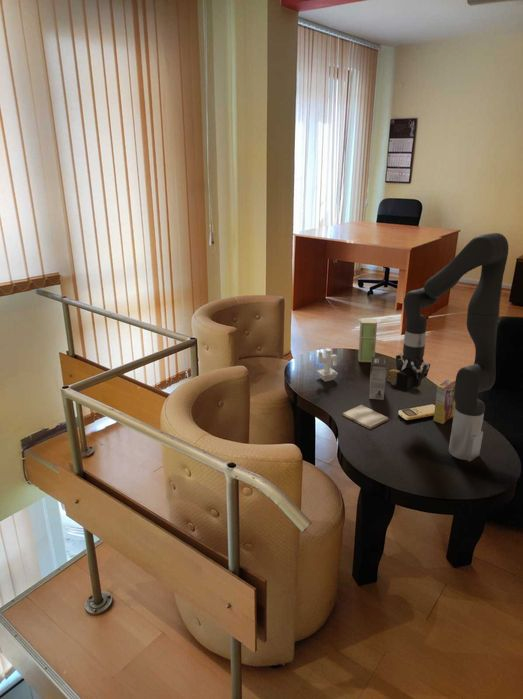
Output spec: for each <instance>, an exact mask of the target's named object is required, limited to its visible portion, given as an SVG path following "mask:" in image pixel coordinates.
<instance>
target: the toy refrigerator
mask: <svg viewBox="0 0 523 699" xmlns="http://www.w3.org/2000/svg"><path fill="white" fill-rule="evenodd" d="M377 326H378V320H377V318H366V317H365V318H364V317H361V318H360V321H359V338H358V339H359V340H358V356H357V357H358V362H359V363H371V361H372V357H376V345H377V330H378V327H377Z"/></svg>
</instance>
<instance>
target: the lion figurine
mask: <svg viewBox="0 0 523 699" xmlns="http://www.w3.org/2000/svg"><path fill="white" fill-rule="evenodd" d="M397 372H399V371H398V370H397V369H390V370H388V371H387V372H386V381H385V382H388V383H389V382H390V384H391V385H392V386H394V385H395V382H393V381H394V379H395V378H397ZM389 379H390V380H389Z"/></svg>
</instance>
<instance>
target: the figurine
mask: <svg viewBox="0 0 523 699" xmlns="http://www.w3.org/2000/svg"><path fill="white" fill-rule="evenodd" d="M317 358H318V363H320V364H323V363H324V368H321V369H316V372H317V374H318V376H319V377H320V379H321V380H323V381H324V382H325V383H326V382H330V381H334V380H335V379H336V377H337V376H338V374H339V373H338V372H337V371H335V369H333V368H331V365H333V366H334V367H336V366H337V365H338V355H337V354H332V348H330V347H327V348H326V347H325V348H324V355H323V351H321V350H319V351H318V357H317ZM331 362H332V364H331Z"/></svg>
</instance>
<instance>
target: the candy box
mask: <svg viewBox="0 0 523 699" xmlns="http://www.w3.org/2000/svg"><path fill="white" fill-rule="evenodd" d="M455 381H456V380H453V379H449V378H448V379H446V380H444V382H443V381H442V382H441V383H440V384H438V385H437V387H436V394H435V401H434V402H435V403H434V411H433V412H434V413H433V421H434V422H436V423H439V424H441V425H444V424H445V423H446V422H447V421H449V420H450V419H453V417H454V411H455V400H454V392H455Z"/></svg>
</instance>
